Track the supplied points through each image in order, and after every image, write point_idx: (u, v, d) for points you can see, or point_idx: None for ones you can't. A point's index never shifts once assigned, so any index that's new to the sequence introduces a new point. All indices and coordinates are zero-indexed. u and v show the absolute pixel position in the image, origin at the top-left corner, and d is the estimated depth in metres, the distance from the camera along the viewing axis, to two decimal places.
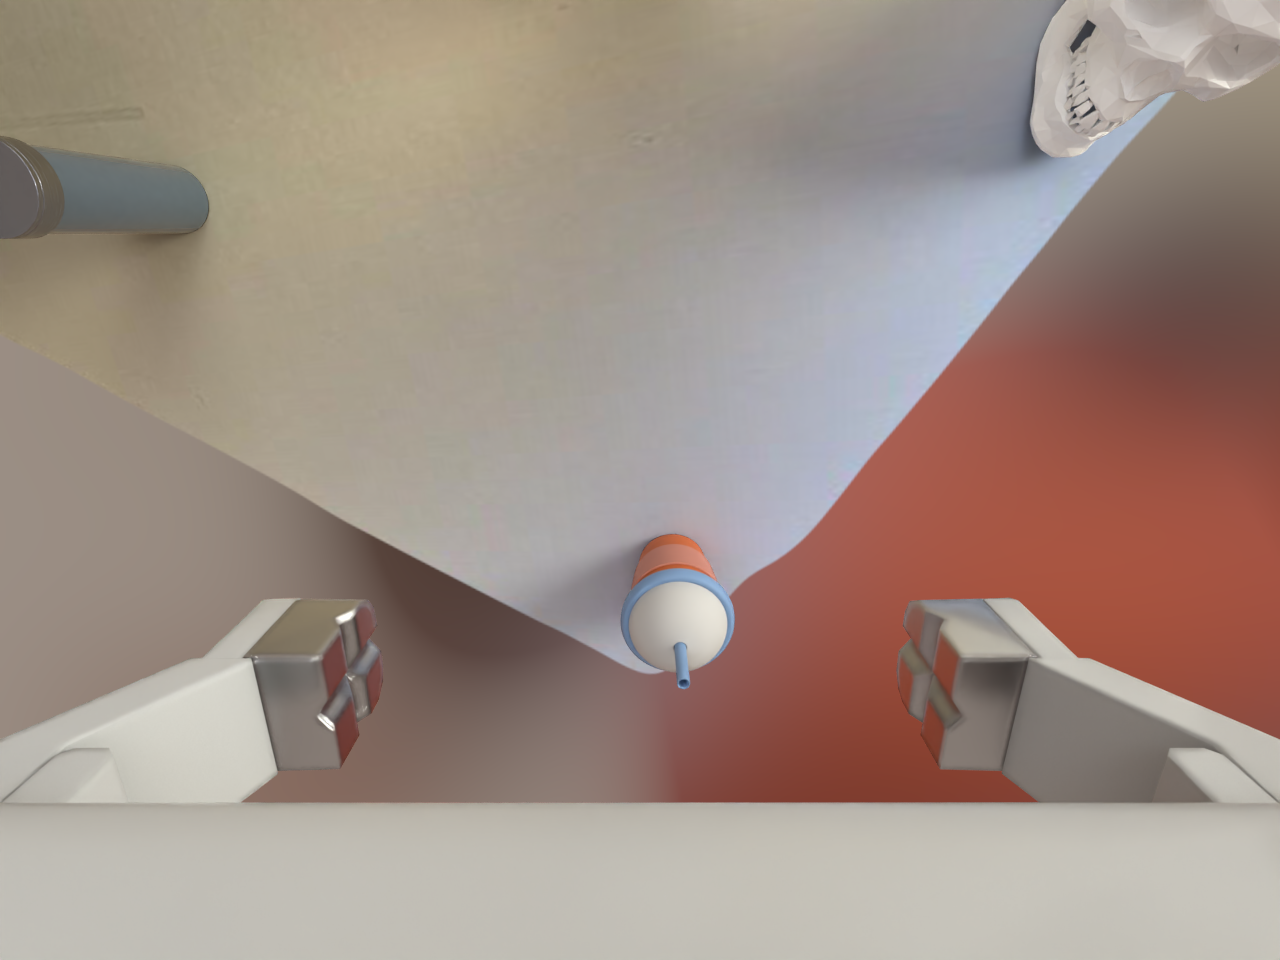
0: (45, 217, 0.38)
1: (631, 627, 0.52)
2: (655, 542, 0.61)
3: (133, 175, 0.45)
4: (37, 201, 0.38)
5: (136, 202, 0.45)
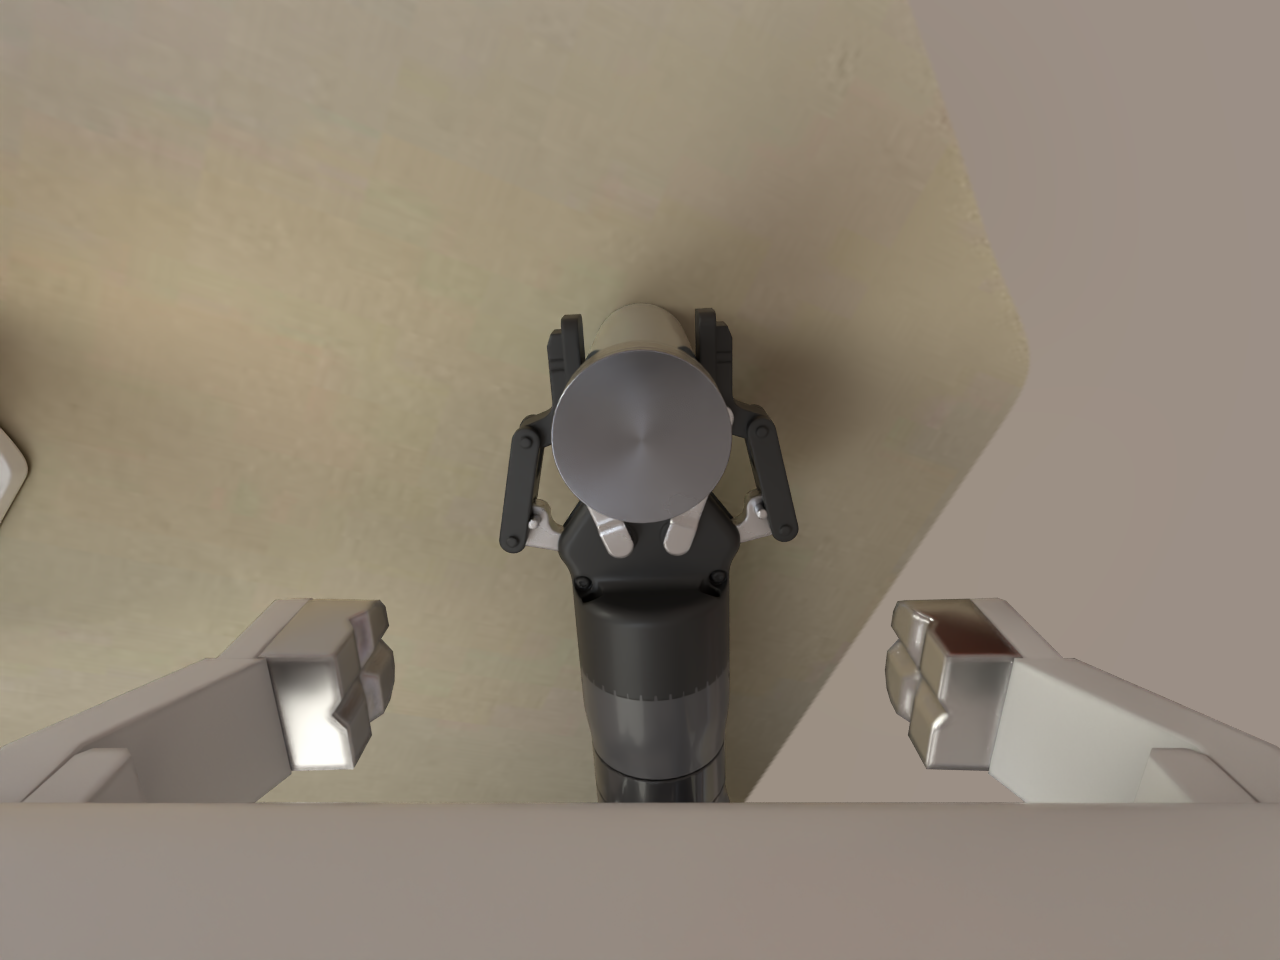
0: (602, 354, 0.20)
1: None
2: None
3: None
4: (577, 378, 0.20)
5: (595, 343, 0.27)
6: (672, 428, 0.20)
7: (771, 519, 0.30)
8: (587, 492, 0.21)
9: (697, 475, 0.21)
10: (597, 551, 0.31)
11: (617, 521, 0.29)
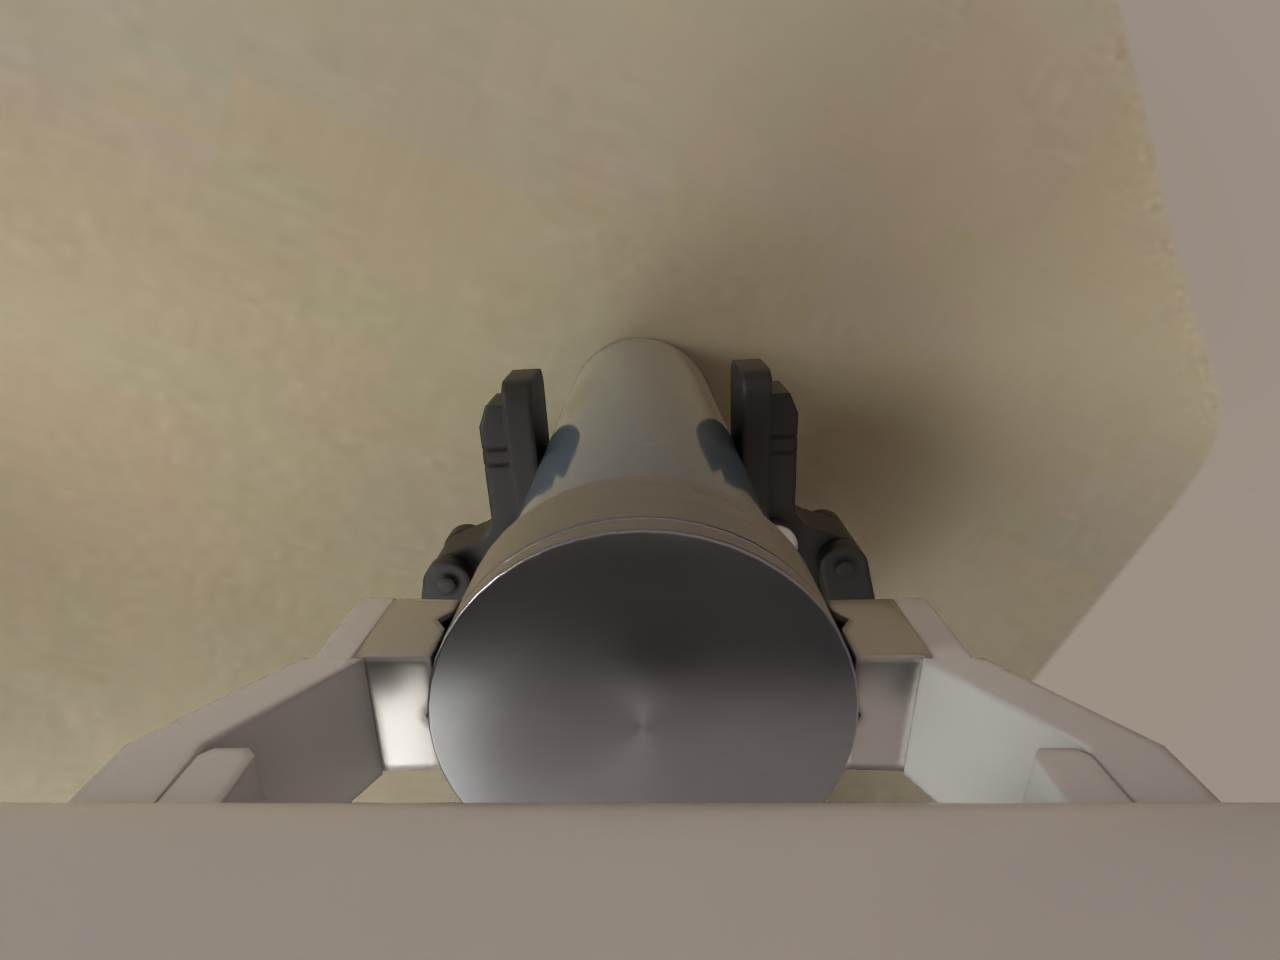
0: (548, 527, 0.08)
1: None
2: None
3: None
4: (484, 595, 0.08)
5: (560, 426, 0.16)
6: (717, 701, 0.08)
7: None
8: None
9: (772, 795, 0.09)
10: None
11: None
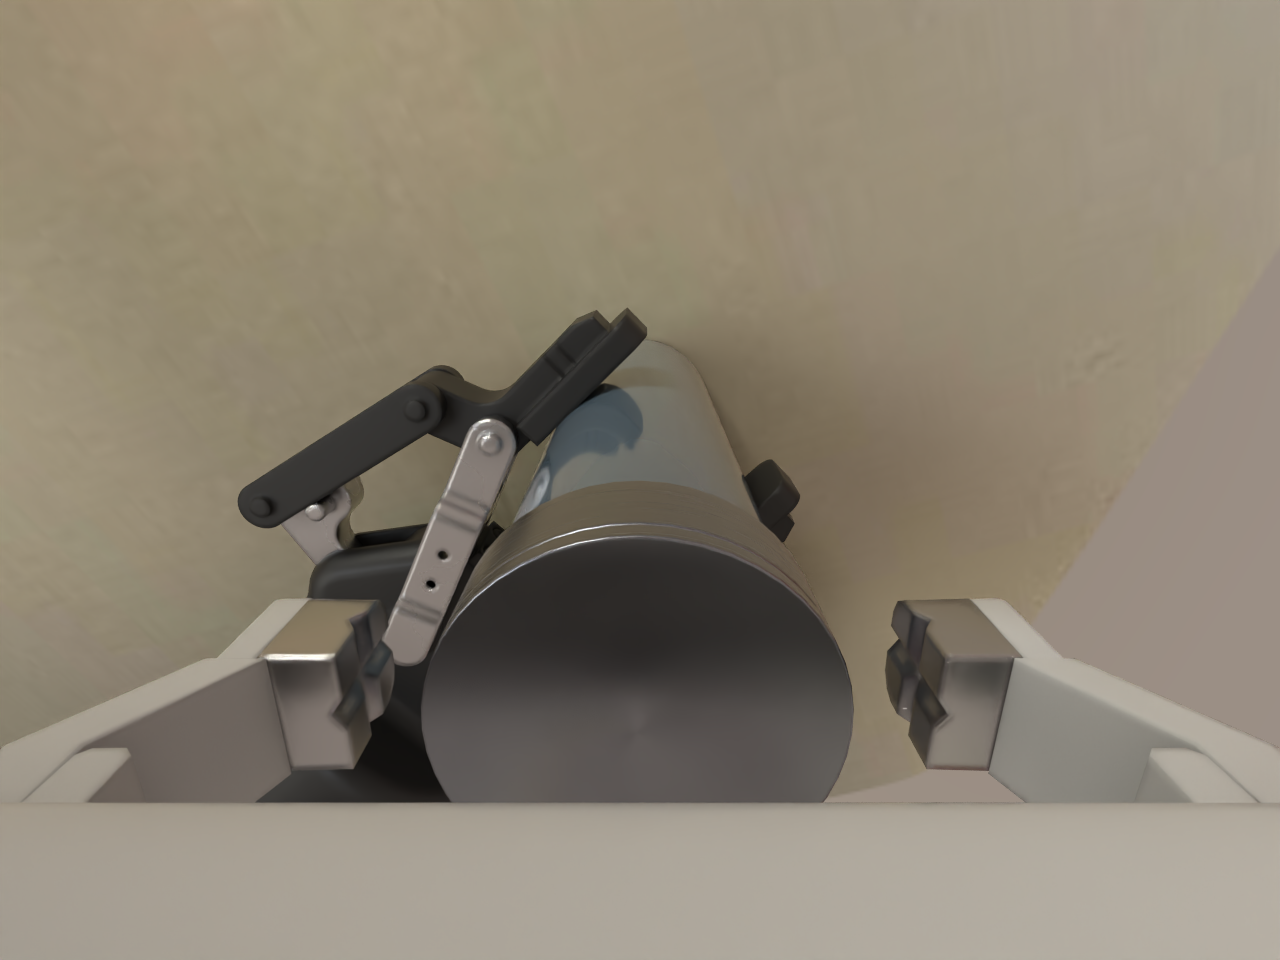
0: (481, 574, 0.08)
1: None
2: None
3: None
4: (437, 658, 0.08)
5: (637, 390, 0.16)
6: (697, 687, 0.08)
7: None
8: None
9: (793, 760, 0.09)
10: None
11: (432, 615, 0.17)
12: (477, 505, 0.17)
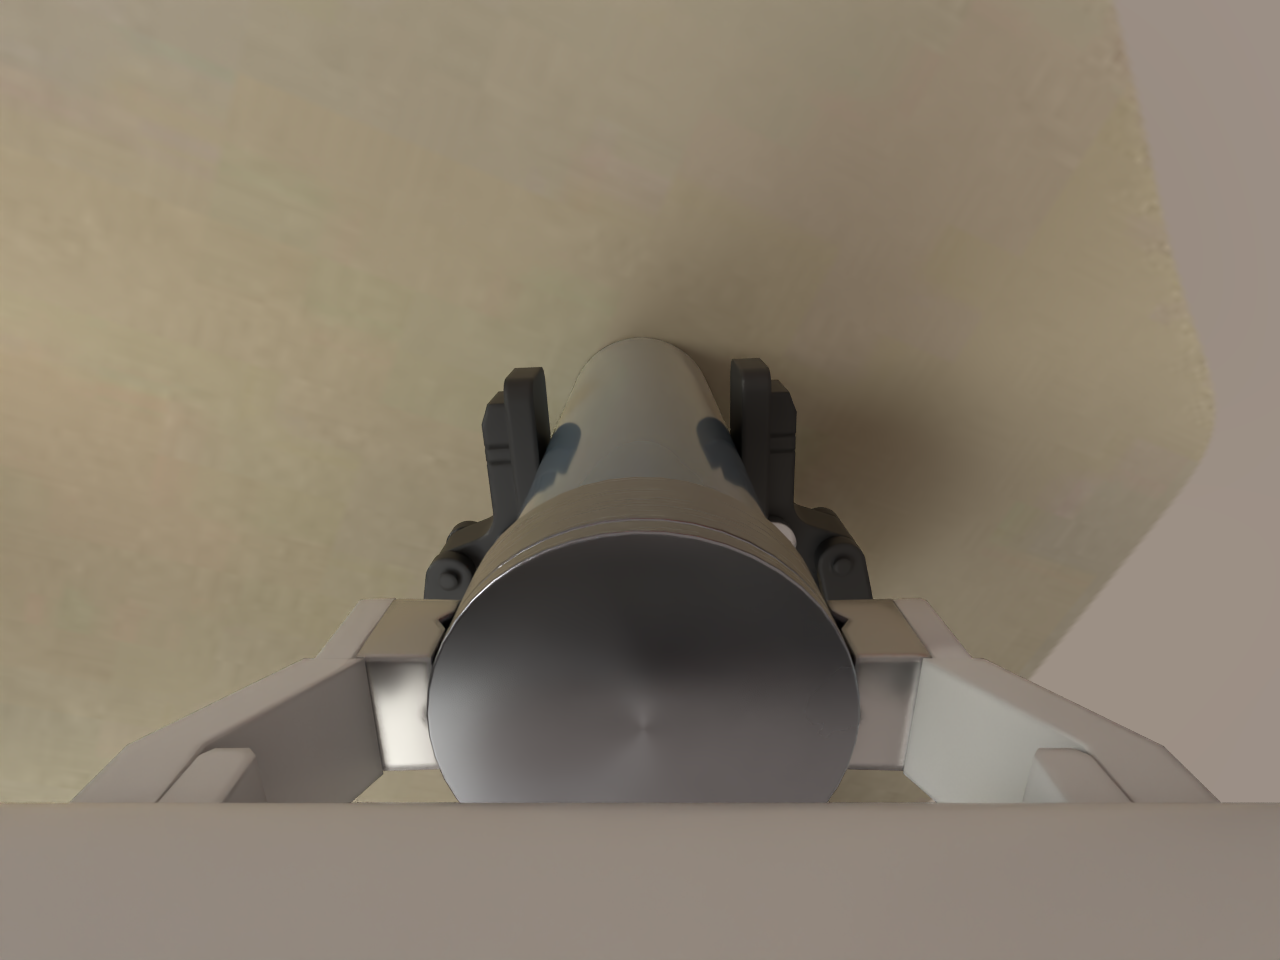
0: None
1: None
2: None
3: None
4: (458, 794, 0.09)
5: (562, 423, 0.16)
6: (641, 661, 0.08)
7: None
8: None
9: (781, 647, 0.08)
10: None
11: None
12: None
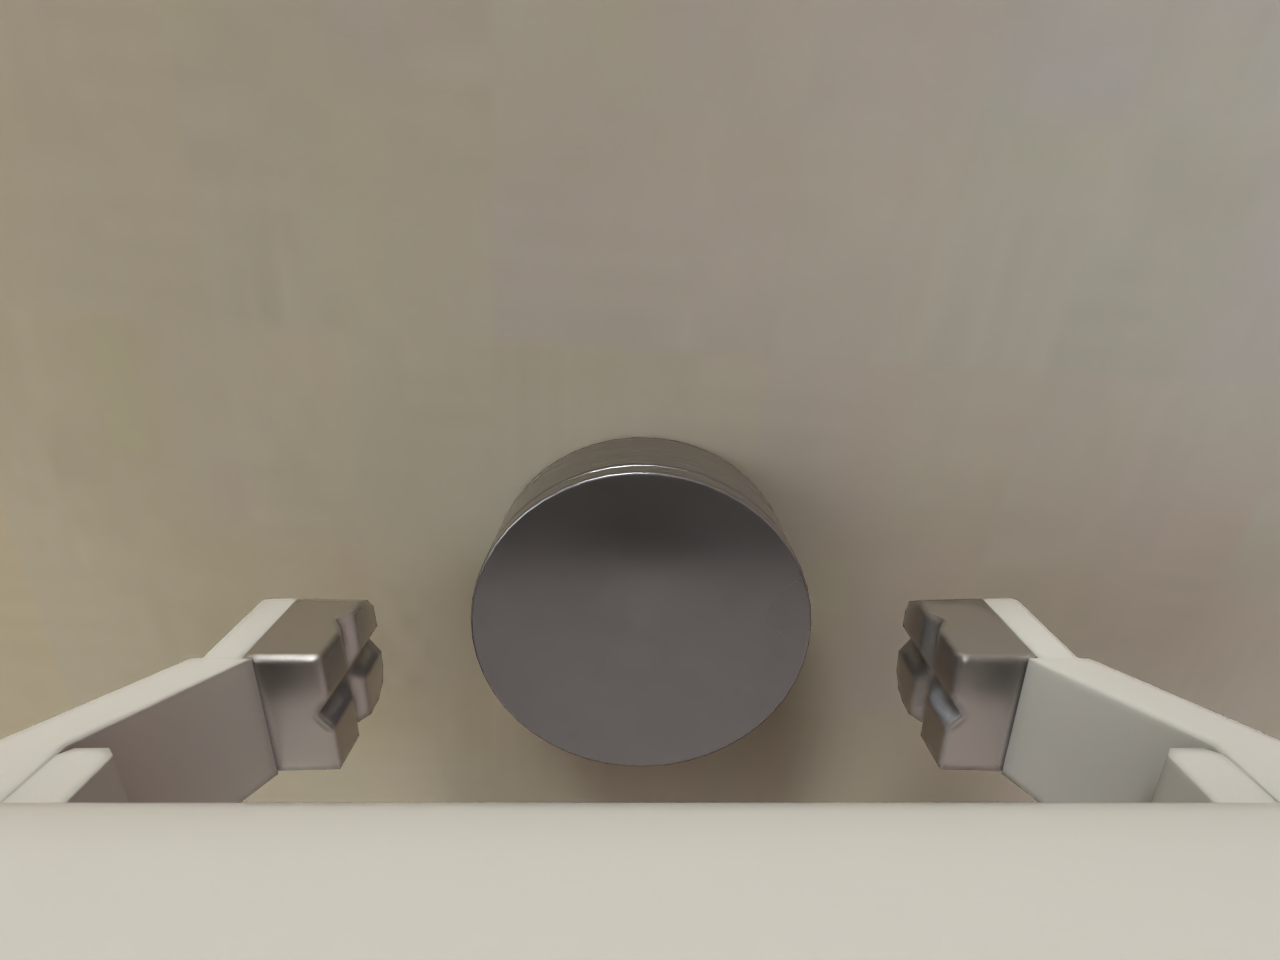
0: None
1: None
2: None
3: None
4: (494, 687, 0.11)
5: None
6: (639, 577, 0.10)
7: None
8: (696, 741, 0.11)
9: (748, 565, 0.10)
10: None
11: None
12: None
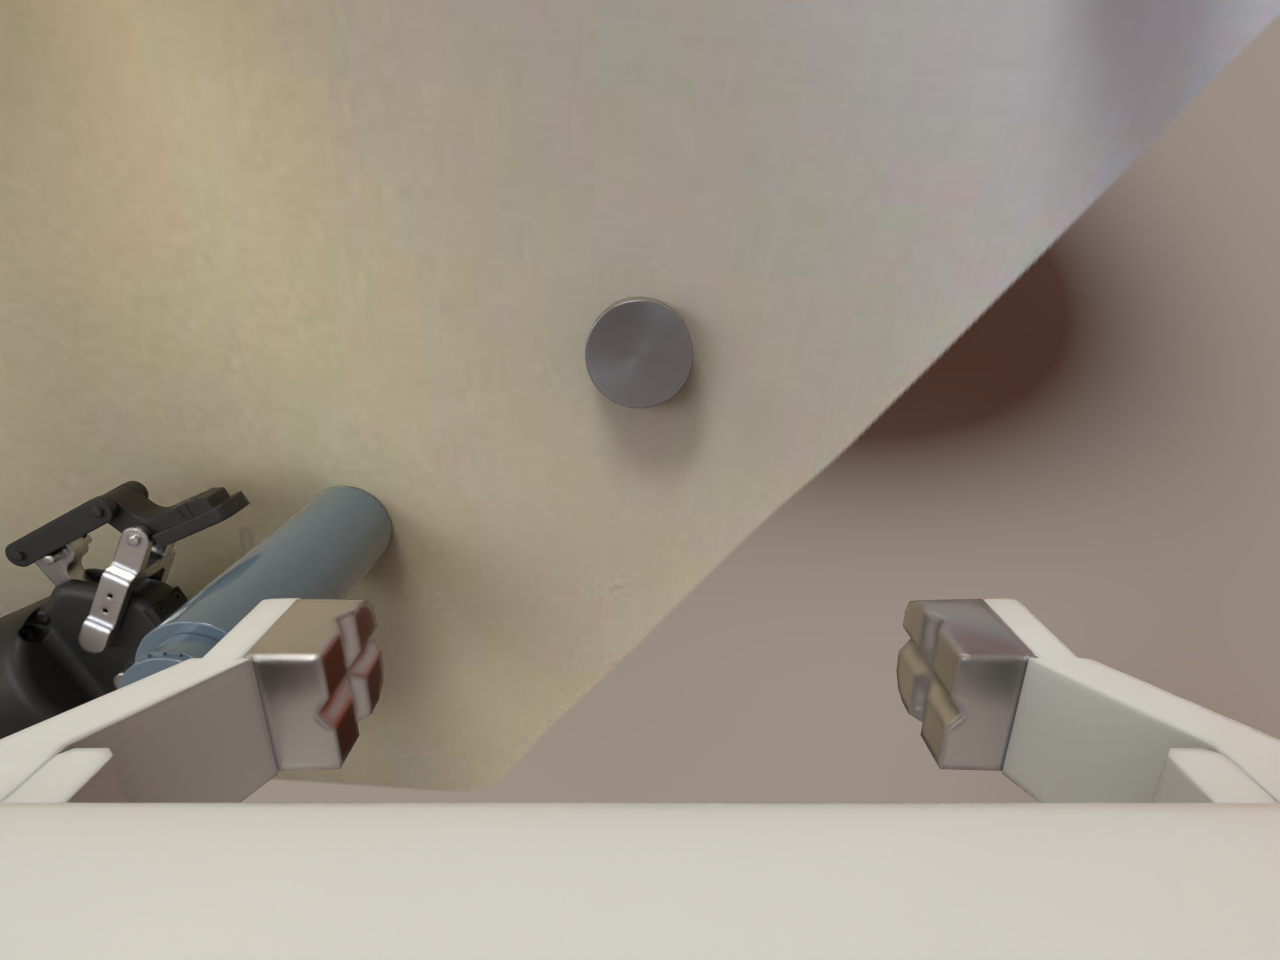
0: None
1: None
2: None
3: (259, 545, 0.31)
4: (591, 376, 0.34)
5: (289, 551, 0.31)
6: (638, 335, 0.34)
7: None
8: (657, 397, 0.35)
9: (672, 331, 0.34)
10: (82, 617, 0.32)
11: (106, 627, 0.32)
12: (130, 570, 0.31)
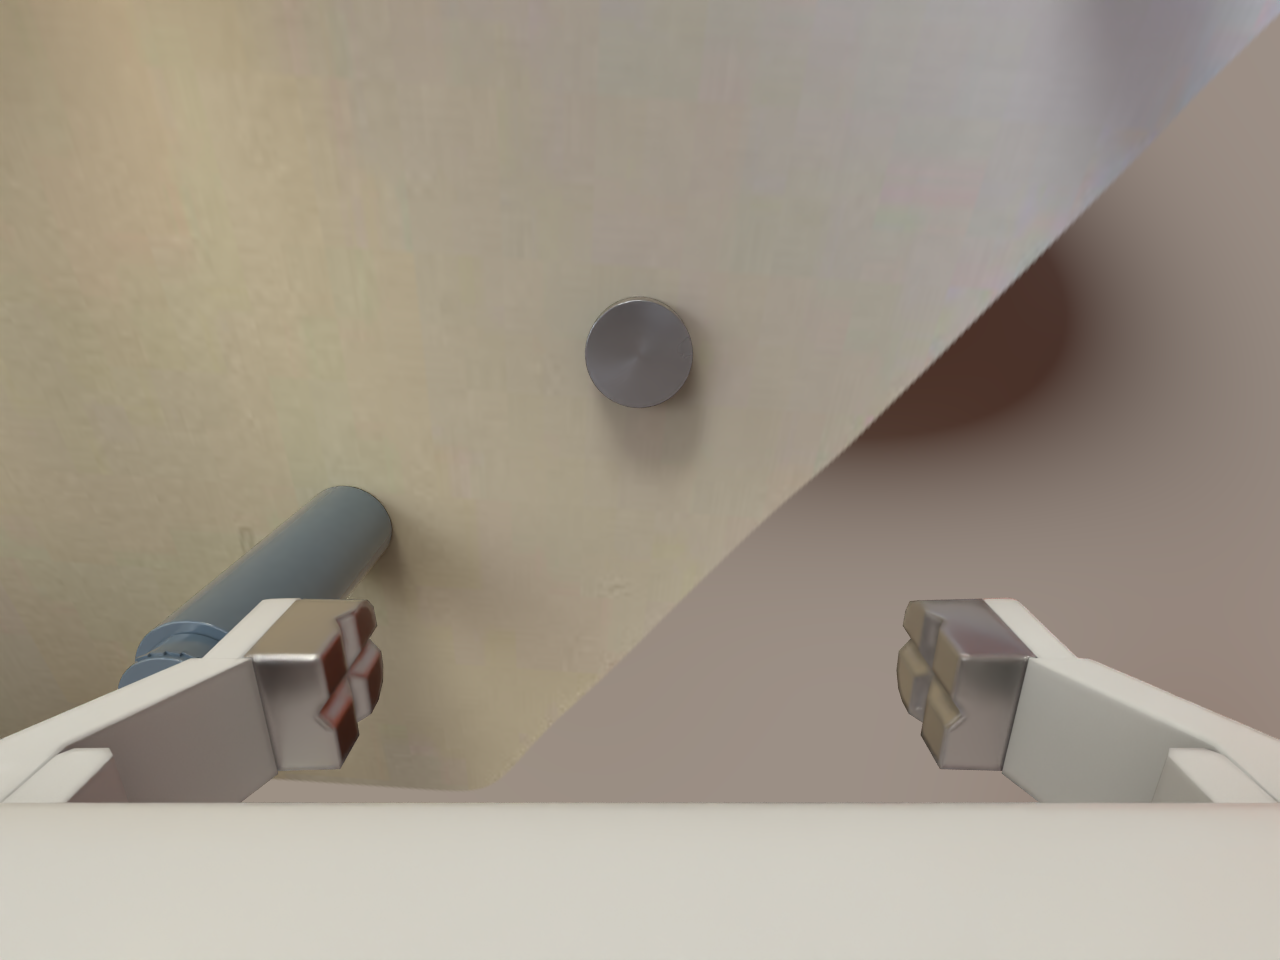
0: None
1: None
2: None
3: (259, 545, 0.31)
4: (591, 376, 0.34)
5: (290, 551, 0.31)
6: (638, 335, 0.34)
7: None
8: (657, 397, 0.35)
9: (671, 331, 0.34)
10: None
11: None
12: None
